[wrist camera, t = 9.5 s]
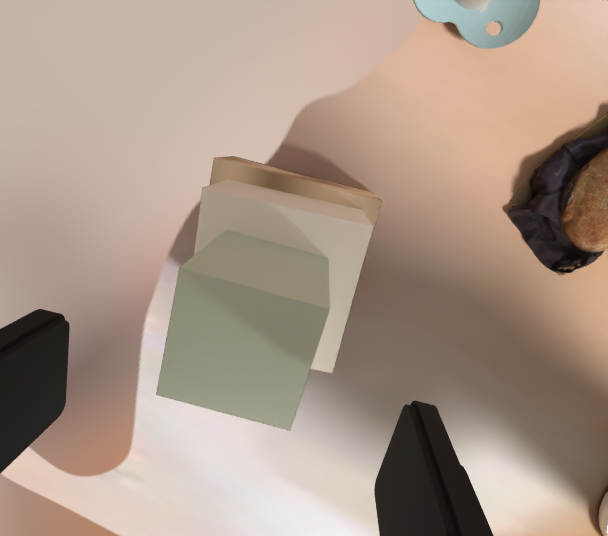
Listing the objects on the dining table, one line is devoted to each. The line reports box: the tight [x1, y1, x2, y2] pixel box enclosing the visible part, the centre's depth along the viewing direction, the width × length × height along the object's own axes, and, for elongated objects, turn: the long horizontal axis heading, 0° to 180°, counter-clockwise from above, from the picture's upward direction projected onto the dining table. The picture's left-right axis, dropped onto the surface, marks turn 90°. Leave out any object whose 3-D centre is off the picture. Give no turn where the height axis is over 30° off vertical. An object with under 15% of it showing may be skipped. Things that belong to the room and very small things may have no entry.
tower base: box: [209, 156, 382, 262], centre depth 26 cm, size 10×10×5 cm
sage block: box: [156, 229, 330, 431], centre depth 16 cm, size 5×5×6 cm
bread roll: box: [504, 112, 608, 275], centre depth 24 cm, size 11×8×4 cm
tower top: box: [194, 180, 373, 373], centre depth 21 cm, size 8×8×5 cm
